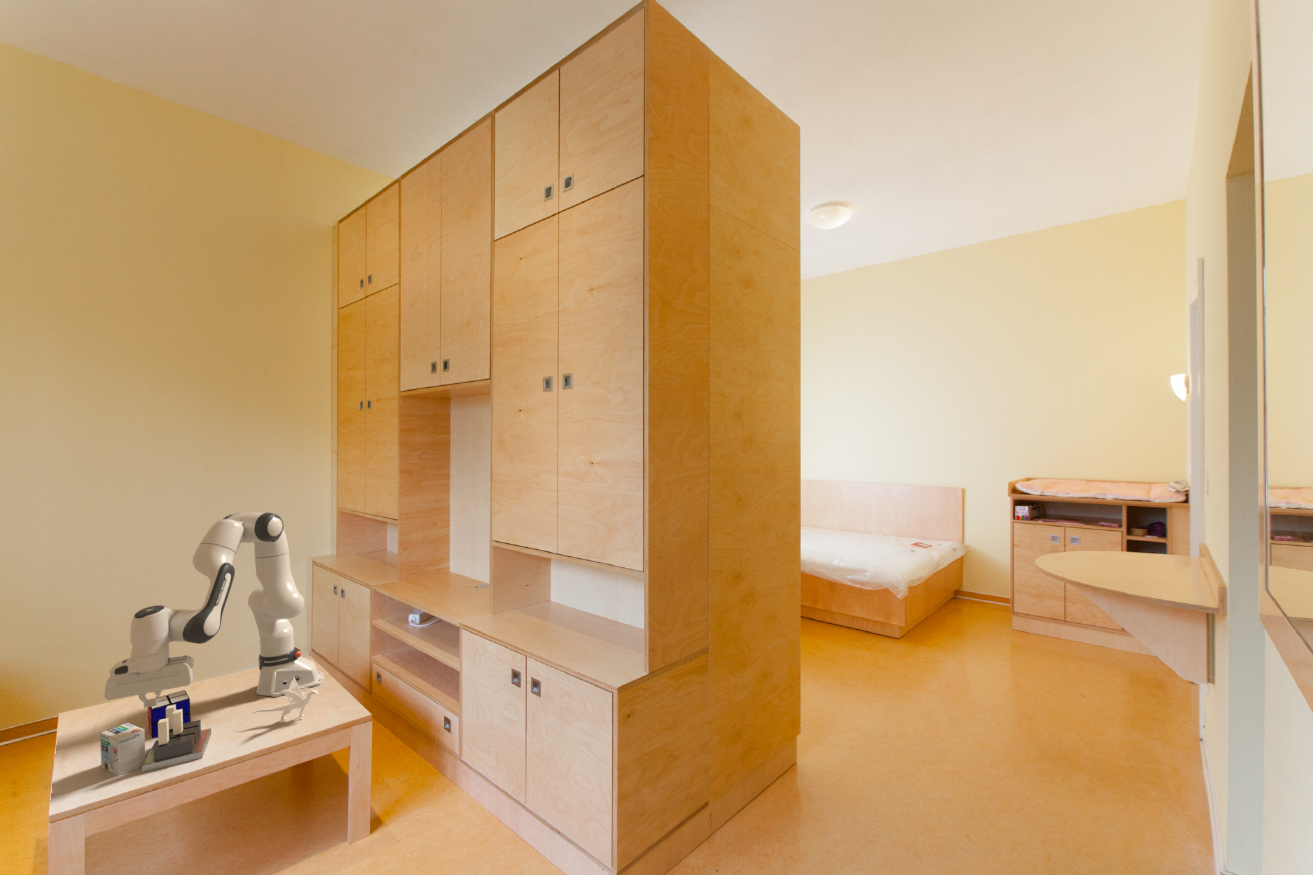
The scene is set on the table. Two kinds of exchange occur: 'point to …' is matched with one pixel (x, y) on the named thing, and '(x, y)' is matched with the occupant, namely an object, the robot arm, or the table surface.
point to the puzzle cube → (160, 710)
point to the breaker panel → (178, 747)
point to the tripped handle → (177, 722)
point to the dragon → (293, 700)
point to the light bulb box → (122, 748)
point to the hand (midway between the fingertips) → (150, 705)
